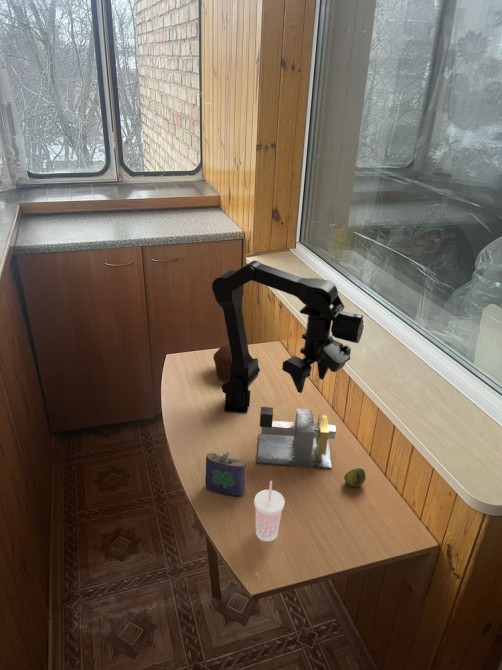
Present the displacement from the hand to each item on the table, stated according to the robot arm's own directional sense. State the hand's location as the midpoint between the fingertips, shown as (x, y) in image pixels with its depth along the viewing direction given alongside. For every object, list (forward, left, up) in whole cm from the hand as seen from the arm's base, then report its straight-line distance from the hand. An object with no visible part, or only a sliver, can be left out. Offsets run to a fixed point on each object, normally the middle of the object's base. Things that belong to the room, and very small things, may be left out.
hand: (310, 385), depth 132 cm
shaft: (-3, -10, -8) cm, 13 cm away
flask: (-19, -25, -14) cm, 35 cm away
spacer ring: (+3, -10, -8) cm, 13 cm away
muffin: (-22, +24, -14) cm, 36 cm away
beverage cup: (-9, -36, -14) cm, 40 cm away
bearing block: (-3, -10, -14) cm, 17 cm away
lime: (+11, -20, -14) cm, 27 cm away
